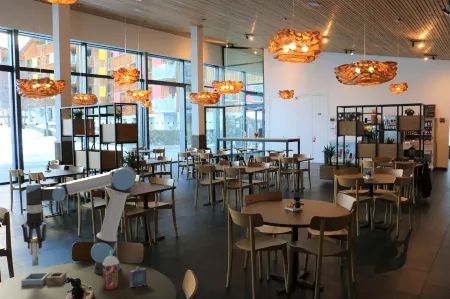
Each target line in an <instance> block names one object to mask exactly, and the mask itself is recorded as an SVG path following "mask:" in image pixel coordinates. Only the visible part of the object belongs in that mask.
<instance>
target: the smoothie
mask: <svg viewBox="0 0 450 299" xmlns="http://www.w3.org/2000/svg"><path fill="white" fill-rule="evenodd" d="M118 260H119V259H118ZM118 260H117V258H116V257H115V256H111V251H110V256H107V257H106V258H105V259H104V261H103V263H102V264H103V274H102V275H103V284H104V285H103V286H104V288H105V290H107V291H111V290H115V289H116V288H117V287H118V284H119V271H118V266H119V262H120V260H119V261H118Z"/></svg>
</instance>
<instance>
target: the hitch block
mask: <svg viewBox="0 0 450 299" xmlns="http://www.w3.org/2000/svg"><path fill="white" fill-rule="evenodd" d="M66 278H67V271H57V272H55V271H52V272H50V275H49V276H48V277H47V278H46V283H45V285H47V286H52V285H54V286H56V285H58V286H60V285H63V284H64V282H65V281H66V280H67V279H66ZM65 279H66V280H65Z"/></svg>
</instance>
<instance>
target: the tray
mask: <svg viewBox="0 0 450 299" xmlns="http://www.w3.org/2000/svg"><path fill="white" fill-rule="evenodd" d="M50 274H51V272H30V273H28V274H27V275H26V276H25V277H24V278H22V279H21V280H20V281H21V282H20V284H21V287H22V288H29V287H32V288H33V287H43V286H44V285H46V278H47V277H48V276H49V275H50Z"/></svg>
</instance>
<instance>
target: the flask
mask: <svg viewBox="0 0 450 299" xmlns="http://www.w3.org/2000/svg"><path fill="white" fill-rule="evenodd" d="M128 274H129V277H128V278H129V288H130V287H135V286H138V285H144V284H146V285H147V269H146V268H145V267H140V266H139V265H137V266H136V267H135V269H133V270H132V269H131V270H130V271H129V273H128Z"/></svg>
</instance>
